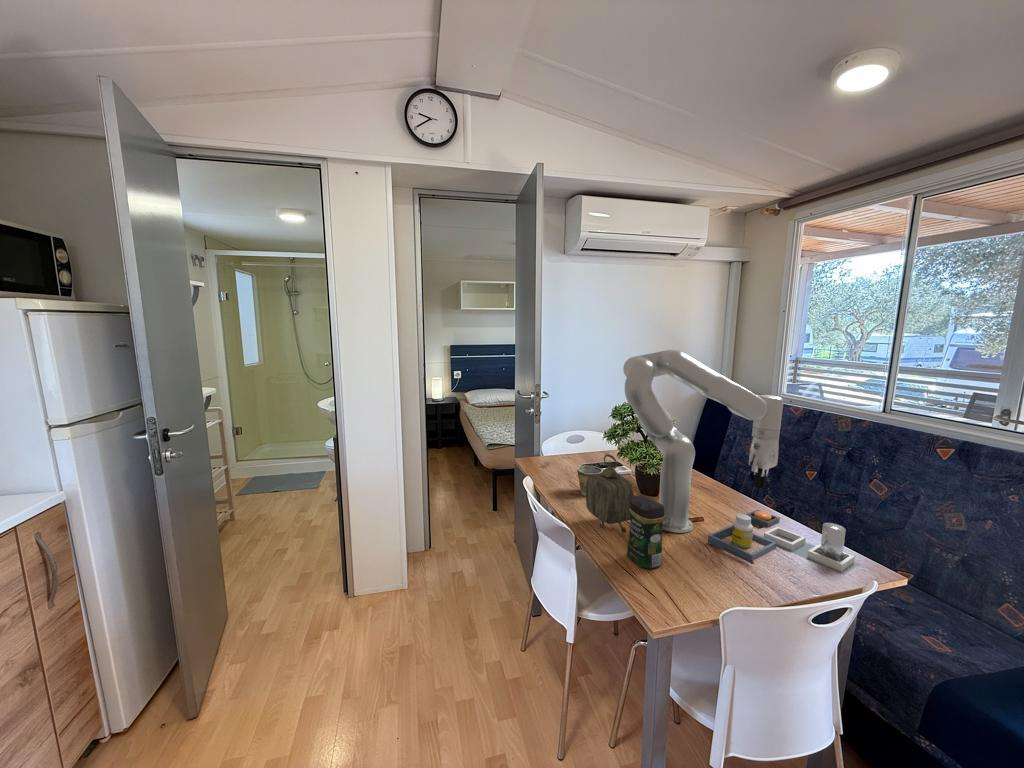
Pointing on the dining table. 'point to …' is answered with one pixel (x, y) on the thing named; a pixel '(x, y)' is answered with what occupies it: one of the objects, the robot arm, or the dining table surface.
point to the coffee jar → (645, 531)
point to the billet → (832, 541)
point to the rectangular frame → (716, 541)
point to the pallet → (808, 550)
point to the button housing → (761, 522)
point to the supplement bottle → (742, 531)
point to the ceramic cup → (586, 475)
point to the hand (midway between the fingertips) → (759, 486)
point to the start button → (762, 515)
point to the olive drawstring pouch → (609, 496)
